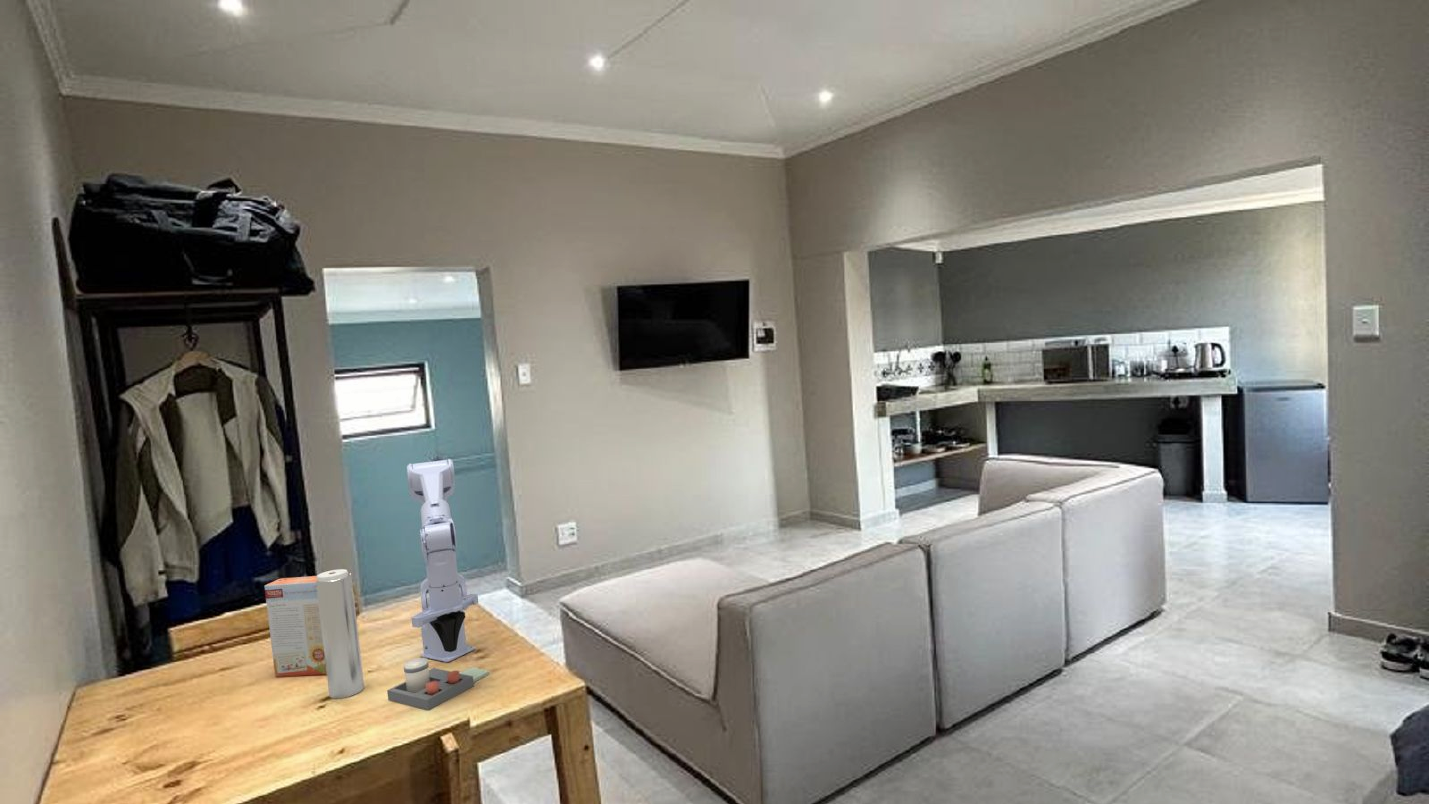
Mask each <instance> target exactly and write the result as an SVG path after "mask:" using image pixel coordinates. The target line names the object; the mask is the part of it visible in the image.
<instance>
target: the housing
mask: <svg viewBox="0 0 1429 804" xmlns="http://www.w3.org/2000/svg"><path fill="white" fill-rule="evenodd" d="M449 672H451V671H449V670H444V669H439V668H436V667H433V668H430V669H429V677H430V682H432V681H437V682H438V686H439V692H438V693H436V694H434V695H432V696H431V695H427V689H426V688H425V689H423V690H421V691H419V692H417V693H411V692H407V688H406V680H404V681H403V682H401V683H398V685H396V686H393V687H390V688H389V689H386V690H387V693H386V694H387V700H388V701H391V702H394V703H397V704H398V703H399V704H403V705H405V706H410V707H414V708H417V709H421V710H425V711H430V710H432V709H433V708H435V707H437V706H440V705H441V704H443V703H446V702H447V701H449V700H451V699H452V698H454V697H456V696H458V695H460V694H462V693H463V692H466V691H467V690H469V689H471V688H473V687H474V685H475V682H473V676H469V675H464V674H459V678H460V681H459V682H457V683H455V684H453V685H452V684H448V677H447V674H448V673H449Z"/></svg>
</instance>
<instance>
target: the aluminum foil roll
mask: <svg viewBox="0 0 1429 804" xmlns="http://www.w3.org/2000/svg"><path fill="white" fill-rule="evenodd" d="M316 576H317V581H316V587H317V595H318V604H319V612H320V621H321V630H322V638H323V647H324V655H325V664H326V672H327V674H326V681H327V687H328V697H330V698H331V699H337V700H338V698H339V699H346V698H349V696H350V697H352V696H351V695H353V696H354V694H355V695H357V694H359V693H360V692H362V691H363V690H364V688H365V683H364V681H365V680H364V674H363V666H362V656H361V647H360V638H359V629H358V623H357V621H358V620H357V610H356V603H355V594H354V587H353V577H352V573H351V572H348V570H347V569H346V568H345V569H343V568H341V569H332V570H328V571H327V570H326V571H324V572H321V573H319V574H317V575H316ZM345 697H346V698H345Z"/></svg>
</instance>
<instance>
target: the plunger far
mask: <svg viewBox="0 0 1429 804" xmlns="http://www.w3.org/2000/svg"><path fill="white" fill-rule="evenodd" d="M459 673H460V672H459V671H458V670H451V671H450V672H449V673H448V674H447V677H448V684H452V685H453V684H455V683H457V682H459V681H460V678H459Z"/></svg>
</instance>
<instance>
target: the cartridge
mask: <svg viewBox="0 0 1429 804" xmlns="http://www.w3.org/2000/svg"><path fill="white" fill-rule="evenodd" d="M428 659H429V658H425V657H418V658H412V659H409V660H408V661H405V662H404V664H403V671H404V676H405V677H404V679H405V681H406V688H407V692H411V693H417V692H419V691H421V690H423V689H425V688H426V684H427V683H429V682H430V677H429V670H430V667H429V666H430V665H429V661H428Z"/></svg>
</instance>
